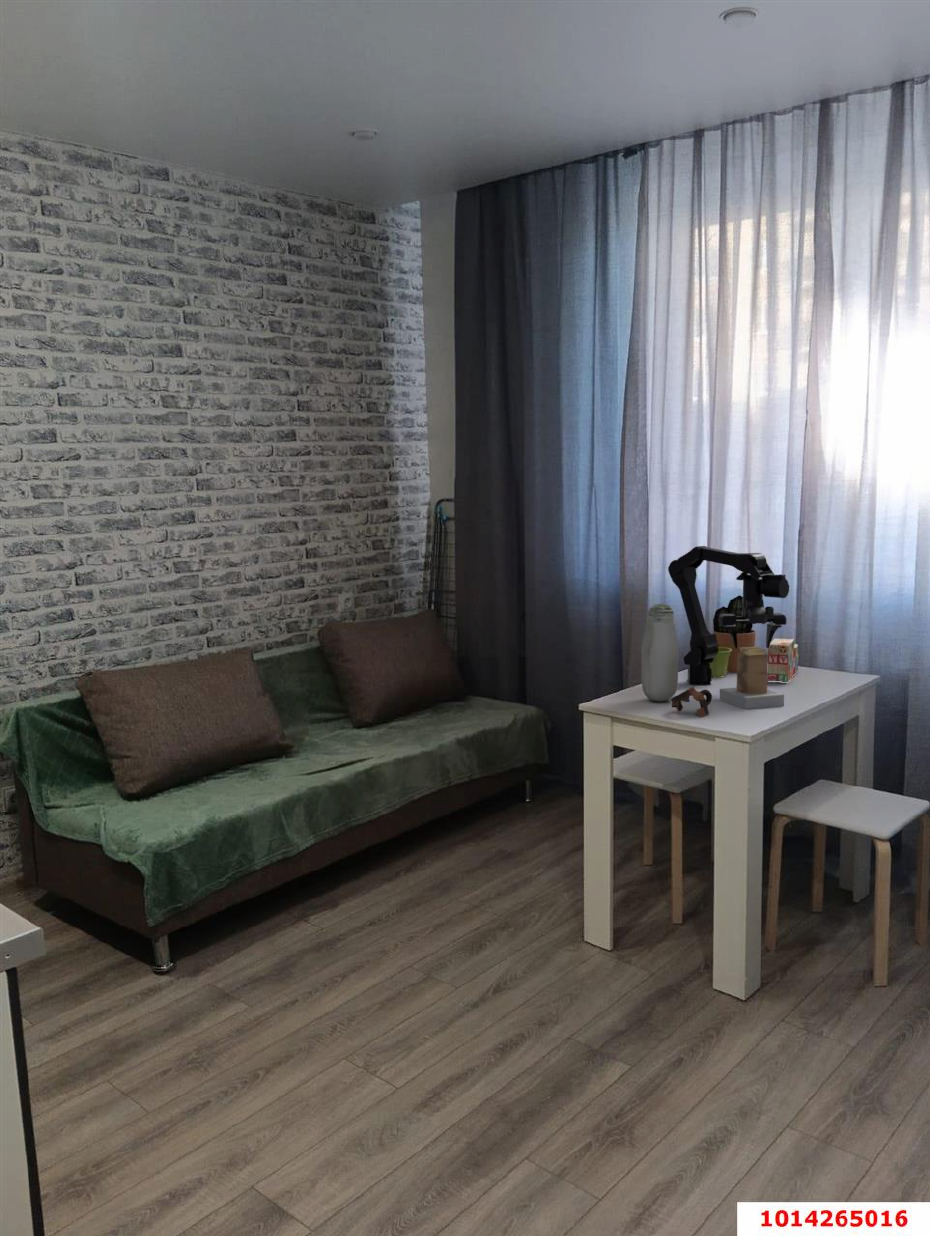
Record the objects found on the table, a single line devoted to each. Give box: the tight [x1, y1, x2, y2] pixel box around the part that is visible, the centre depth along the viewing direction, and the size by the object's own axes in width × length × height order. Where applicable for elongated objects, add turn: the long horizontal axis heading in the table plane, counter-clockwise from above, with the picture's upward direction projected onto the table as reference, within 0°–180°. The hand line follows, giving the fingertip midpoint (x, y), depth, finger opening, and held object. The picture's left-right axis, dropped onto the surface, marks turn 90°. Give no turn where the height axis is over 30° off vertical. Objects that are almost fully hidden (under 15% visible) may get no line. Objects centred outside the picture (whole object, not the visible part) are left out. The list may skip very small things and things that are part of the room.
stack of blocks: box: [767, 638, 799, 682], centre depth 333 cm, size 21×6×12 cm, turn 154°
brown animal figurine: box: [670, 686, 713, 718], centre depth 285 cm, size 12×10×8 cm
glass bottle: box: [640, 603, 680, 703], centre depth 300 cm, size 10×10×28 cm
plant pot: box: [709, 647, 732, 678], centre depth 337 cm, size 9×9×9 cm
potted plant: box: [712, 595, 757, 673], centre depth 345 cm, size 14×14×25 cm
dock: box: [719, 687, 785, 710], centre depth 297 cm, size 14×12×3 cm
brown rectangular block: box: [736, 646, 768, 695], centre depth 296 cm, size 6×6×12 cm
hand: (751, 648), depth 311 cm, fingers open, 9 cm apart
